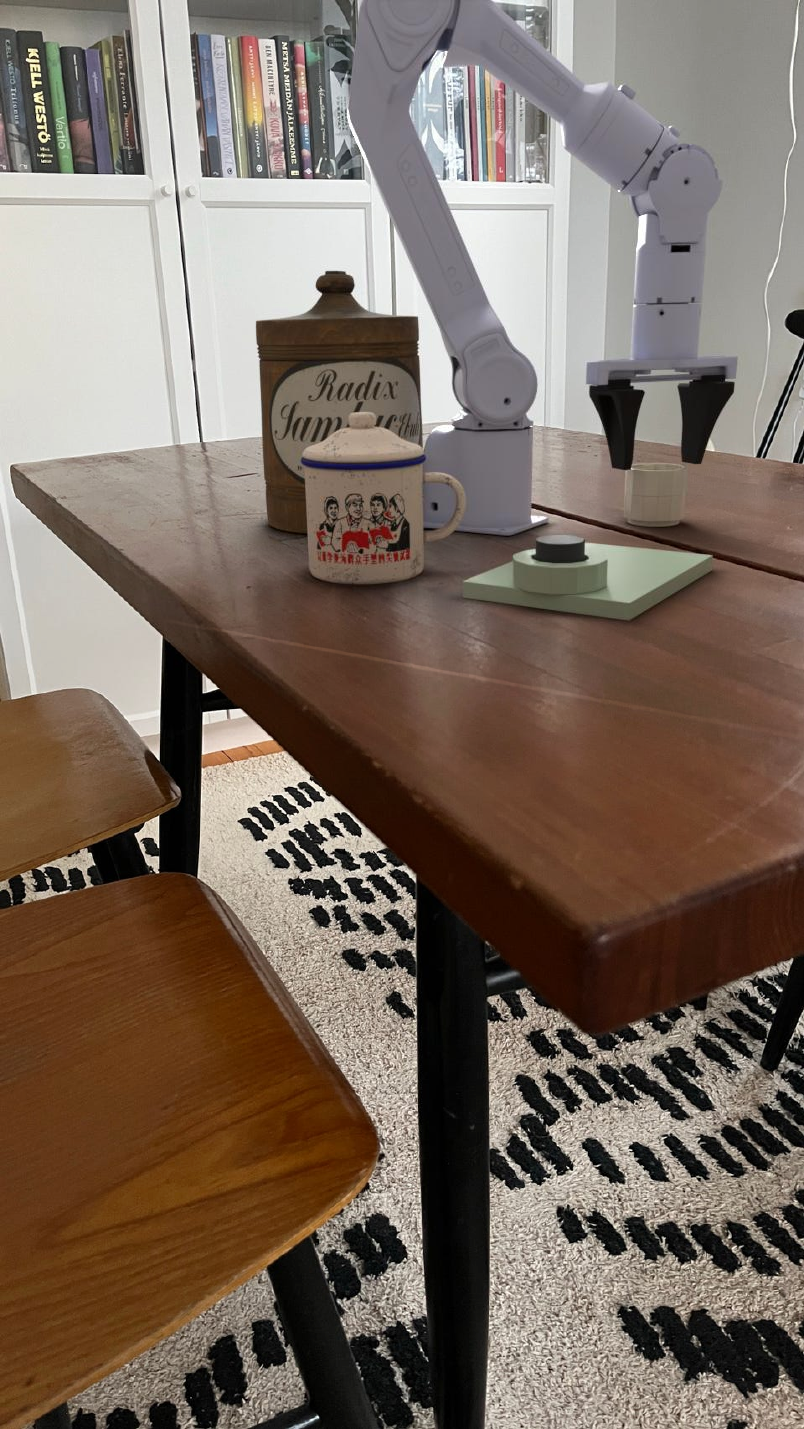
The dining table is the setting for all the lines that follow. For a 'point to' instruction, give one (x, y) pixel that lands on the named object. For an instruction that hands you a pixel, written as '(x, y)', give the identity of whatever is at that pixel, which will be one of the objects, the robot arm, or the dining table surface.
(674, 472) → the cup
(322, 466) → the teacup with lid
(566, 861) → the dining table surface
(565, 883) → the dining table surface
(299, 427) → the wooden container
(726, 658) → the dining table surface
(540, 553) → the button
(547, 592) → the scale
